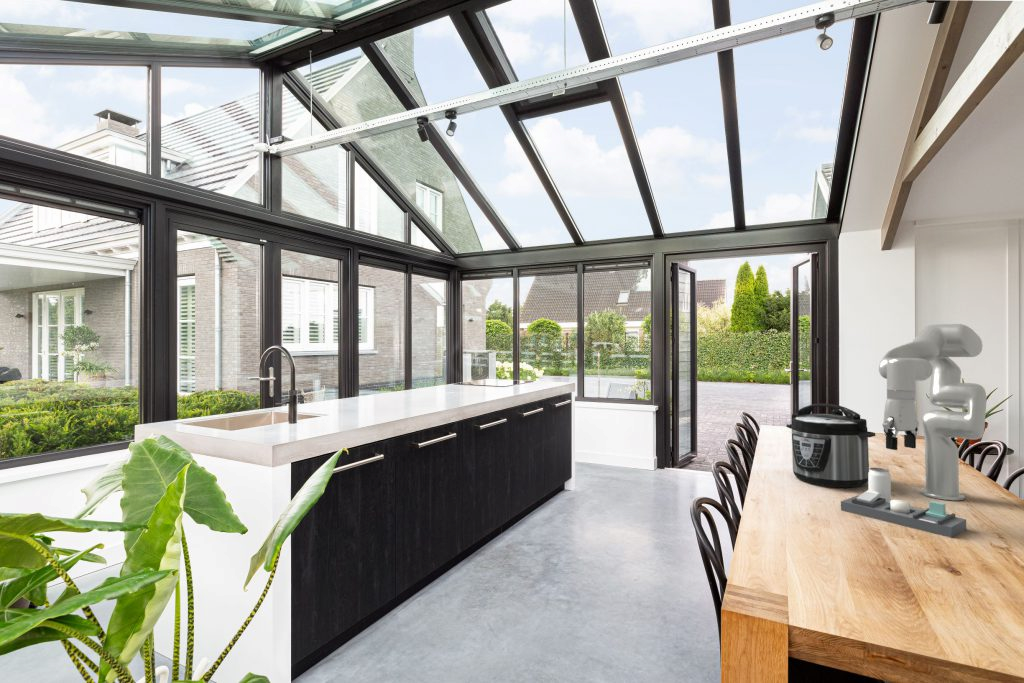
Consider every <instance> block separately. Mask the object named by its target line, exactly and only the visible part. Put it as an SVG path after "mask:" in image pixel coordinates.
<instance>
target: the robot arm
mask: <svg viewBox="0 0 1024 683" xmlns="http://www.w3.org/2000/svg"><path fill="white" fill-rule="evenodd" d="M982 351H983V341H982V338H981V337H980V336H979V334H978V333H976V332H975V331H974V329H973V328H971V327H970V326H967V325H966V324H963V323H949V324H948V323H945V324H943V323H942V324H941V323H940V324H930V325H926V326H924V327H923V328H921V330H920V331H919V332H918V334H917V335H916V336H915V338H914V339H913V340H912V341H911V342H908V343H905V344H901V345H900V346H899V345H898V346H897V347H894V348H892V349H890V350H888V351H887V352H886V353H885V354H884V355H883V357H882V358H881V359H880V362H879V365H878V372H879V375H880V376H881V377H882V378H884V379H886V401H885V404H884V413H883V422H882V427H883V433H884V436H885V448H886V449H887V450H895V451H897V450H898V443H899V442H898V438H899V437H897V435H898V433H899V432H904V434H903V435H904V436H903V447H904V448H909V449H916V447H917V435H918V434H917V432H918V430H919V429H918V428H919V425H920V423H919V421H918V420H917V409H916V408H917V407H916V399H917V398H916V383H917V382H918V381H919V382H921V381H926V380H928V379H930V386H929V393H928V394H929V398H928V399H929V402H930V404H932V405H934V406H935V407H939V408H940V407H941V408H948V409H962V410H966V411H955V410H944V409H943V410H942V409H931V410H927V411H925V412H924V413H923V414H922V415H921V427H922V430H923V431H922V432H923V437H924V460H925V462H924V464H925V465H924V466H925V470H924V471H925V487H923V488H921V489H920V491H919V492H920V494H921V495H923V496H926V497H928V498H933V499H938V500H945V501H963V500H965V497H966V496H965V494H963V493H962V492H960V478H959V477H960V473H959V472H960V471H959V470H960V469H959V468H960V467H959V466H960V463H959V460H960V459H959V454H960V453H959V448H958V447H957V444H956V443H955V442H954V441H953V440H952V439H953V438H955V439H964V440H972V441H973V440H978V439H981V438H983V436H984V433H985V424H986V414H987V413H986V412H987V393H986V389H985V388H984V386H982V385H980V384H978V383H972V382H961V378H962V377H961V376H962V370H961V368H960V367H959V365H958V364H957V363H956V362H955V361H954V360H952V358H975V357H978V356H980V354H981V353H982ZM916 381H917V382H916ZM951 438H952V439H951Z"/></svg>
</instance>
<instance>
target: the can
mask: <svg viewBox="0 0 1024 683" xmlns="http://www.w3.org/2000/svg"><path fill="white" fill-rule="evenodd" d="M889 470H890V469H887V468H884V467H883V468H882V467H869V472H868V482H867V484H868V490H870V491H875V492H879V493H881V497H879V498H884V499H886V502H890V500H892V485H891V477H892V476H891V473H890V471H889Z"/></svg>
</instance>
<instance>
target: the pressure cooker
mask: <svg viewBox="0 0 1024 683" xmlns="http://www.w3.org/2000/svg"><path fill="white" fill-rule="evenodd" d="M815 407H817V408H819V407H827V408H831V409H833V410H832V411H831V413H812V412H813V411H814V409H815ZM867 422H868V421H867V419H866V418H861V415H860V414H859V413H858V412H856V411H854V410H852V409H850V408H847V407H845V406H843V405H839V404H834V403H833V404H832V403H814V404H810V405H809V404H808V405H805V406H803V407H801V408H799V409H797V412H796V413H792V414H791V423H788V424H786V428H787V429H790V432H791V456H792V457H791V460H792V472H793V475H794V476H795V477H796V478H797V479H798V480H801V481H803V482H806V483H809V484H813V485H819V486H828V487H837V488H838V487H839V488H853V487H854V488H856V487H862V486H863V485H865V484H868V472H869V471H870V462H869V457H870V456H869V438H873V437H876V433H875V432H873V431H869V430H868V426H867V425H868V424H867Z"/></svg>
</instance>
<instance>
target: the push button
mask: <svg viewBox="0 0 1024 683" xmlns="http://www.w3.org/2000/svg"><path fill="white" fill-rule="evenodd" d="M910 505H911V504H910V502H908V501H905V500H902V499H891V500H890V511H894V512H899V513H903V514H907V515H908V514H910V507H911V506H910Z"/></svg>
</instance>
